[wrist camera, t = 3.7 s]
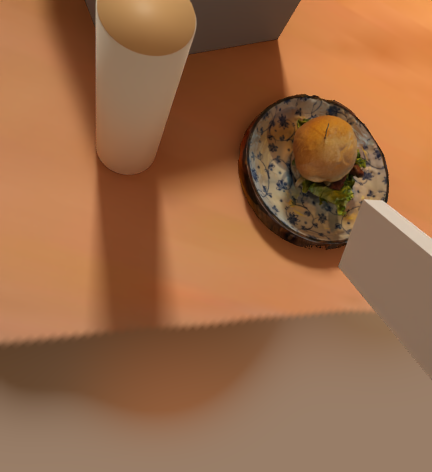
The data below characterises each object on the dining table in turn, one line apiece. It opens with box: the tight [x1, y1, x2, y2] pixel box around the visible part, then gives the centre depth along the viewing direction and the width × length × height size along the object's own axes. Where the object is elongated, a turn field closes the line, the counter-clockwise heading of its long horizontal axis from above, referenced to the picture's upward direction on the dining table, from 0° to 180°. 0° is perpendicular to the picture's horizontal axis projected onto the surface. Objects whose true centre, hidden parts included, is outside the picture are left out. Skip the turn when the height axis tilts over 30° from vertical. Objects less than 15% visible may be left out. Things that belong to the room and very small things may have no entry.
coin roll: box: [96, 0, 196, 175], centre depth 22 cm, size 4×4×12 cm
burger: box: [238, 94, 389, 250], centre depth 28 cm, size 12×12×8 cm
